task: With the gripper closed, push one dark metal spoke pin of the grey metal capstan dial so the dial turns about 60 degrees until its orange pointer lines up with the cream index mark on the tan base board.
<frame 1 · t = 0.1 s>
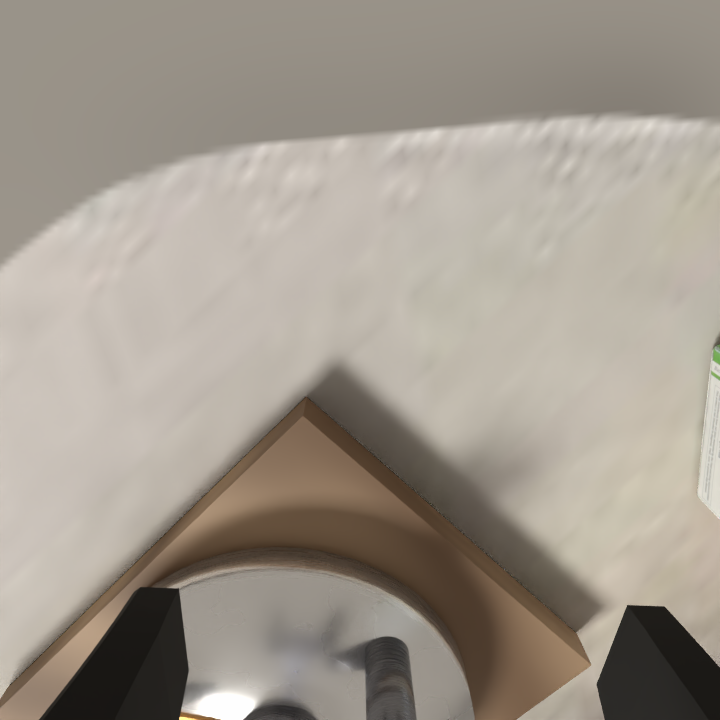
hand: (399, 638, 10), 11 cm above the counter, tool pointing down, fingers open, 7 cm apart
tan base board: (289, 661, 24), on the counter
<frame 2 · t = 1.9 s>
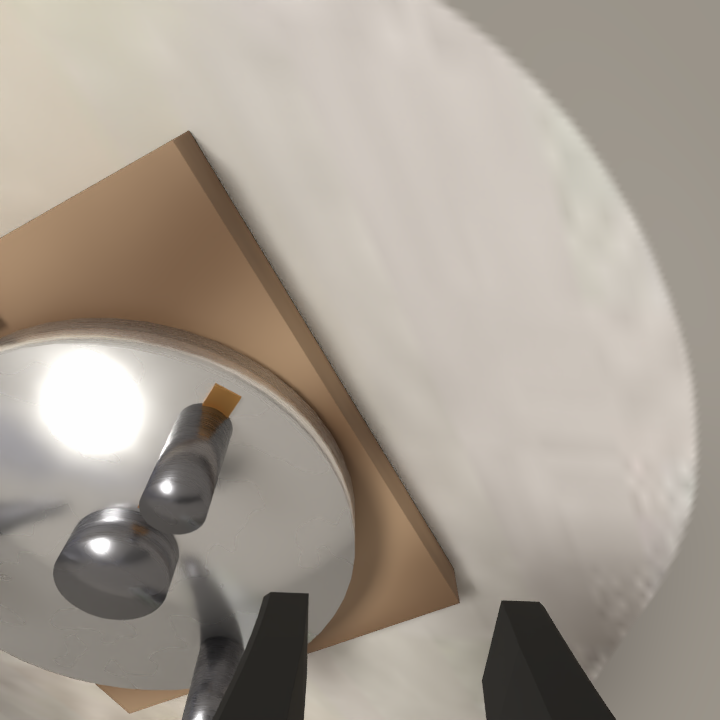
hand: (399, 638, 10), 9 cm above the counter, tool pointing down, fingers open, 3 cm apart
capstan dial: (116, 569, 17), point 4 cm above the counter, hinge at -60.0°
tan base board: (158, 473, 20), on the counter
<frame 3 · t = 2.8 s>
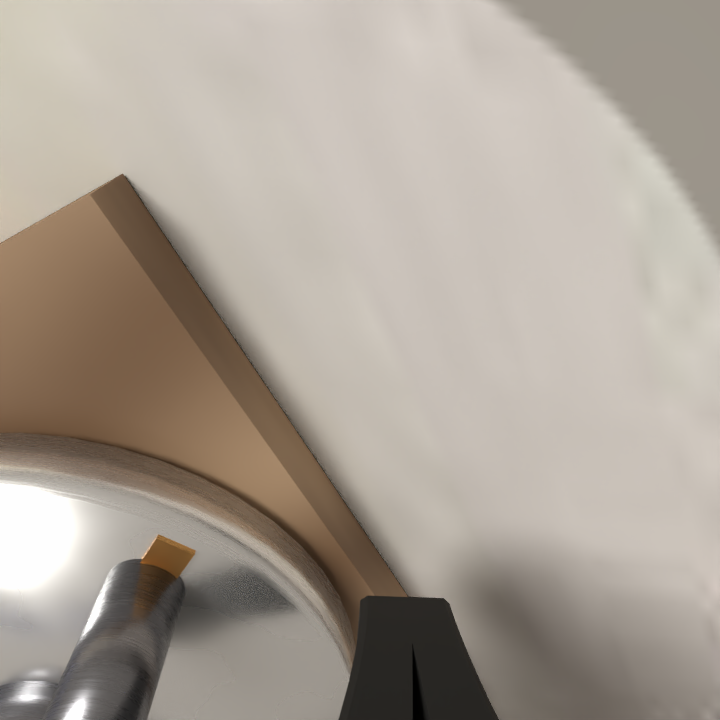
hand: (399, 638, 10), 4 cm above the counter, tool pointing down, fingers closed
tan base board: (105, 597, 16), on the counter
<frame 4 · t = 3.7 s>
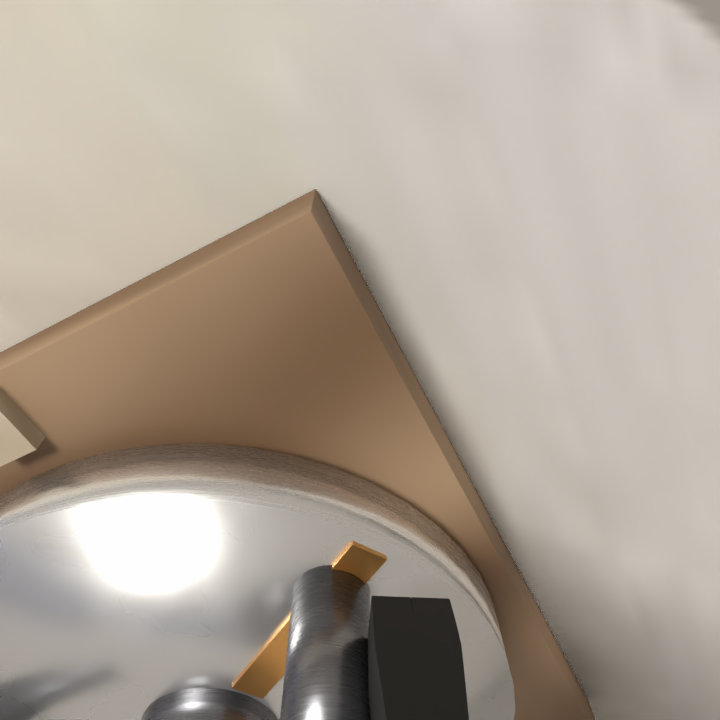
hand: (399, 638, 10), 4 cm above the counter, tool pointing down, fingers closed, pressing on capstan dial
tan base board: (236, 603, 16), on the counter
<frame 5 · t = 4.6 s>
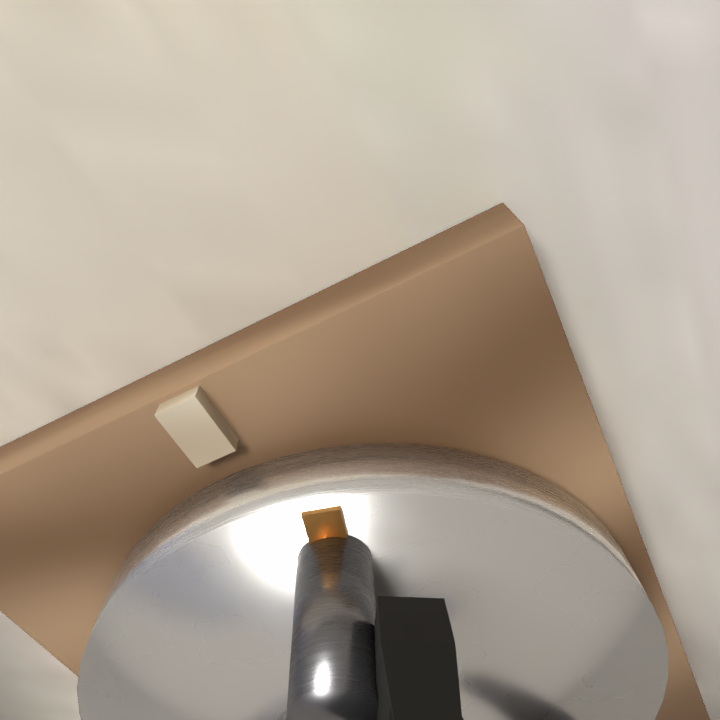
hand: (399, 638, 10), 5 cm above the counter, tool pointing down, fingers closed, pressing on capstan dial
tan base board: (369, 597, 17), on the counter
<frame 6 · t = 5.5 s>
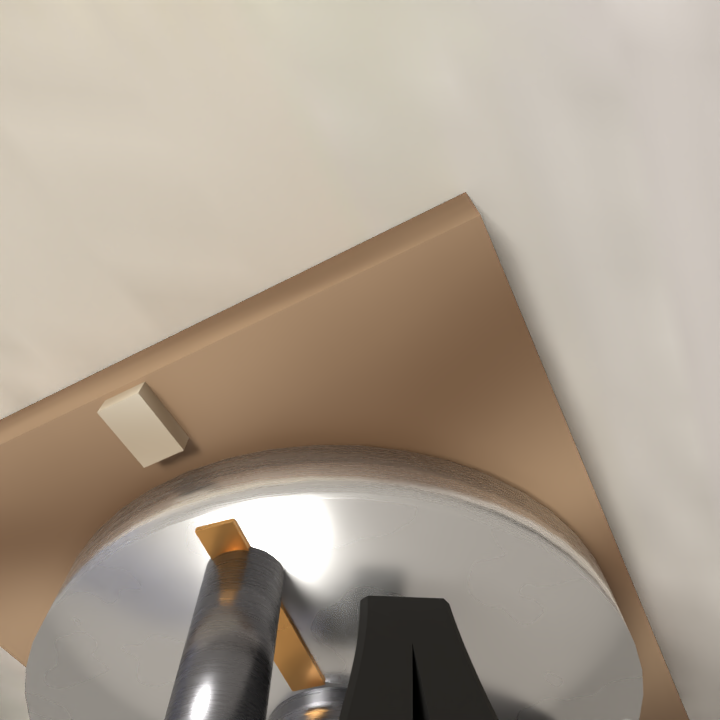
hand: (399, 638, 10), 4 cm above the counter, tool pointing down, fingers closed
tan base board: (339, 603, 16), on the counter
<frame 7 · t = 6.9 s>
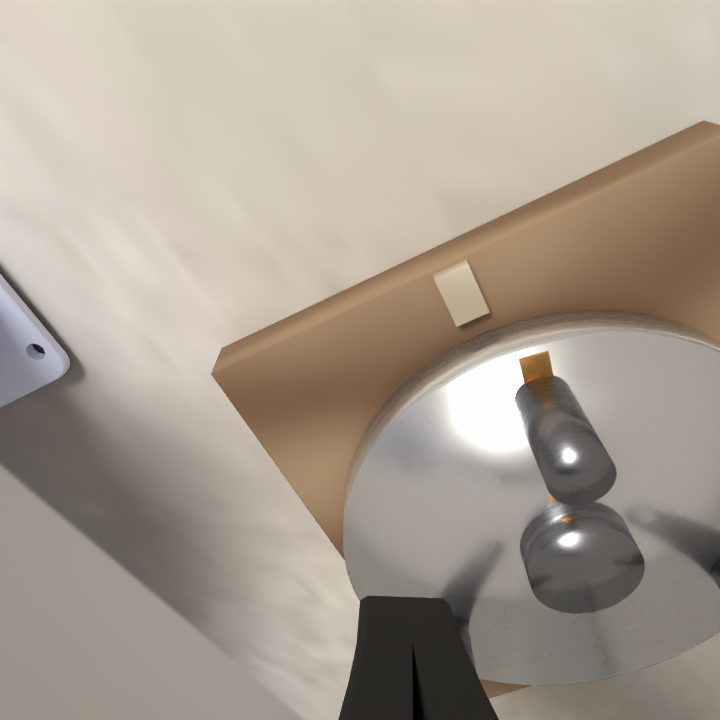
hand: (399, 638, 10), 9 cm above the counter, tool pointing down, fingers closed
capstan dial: (581, 562, 17), point 4 cm above the counter, hinge at -8.7°
tan base board: (542, 467, 20), on the counter
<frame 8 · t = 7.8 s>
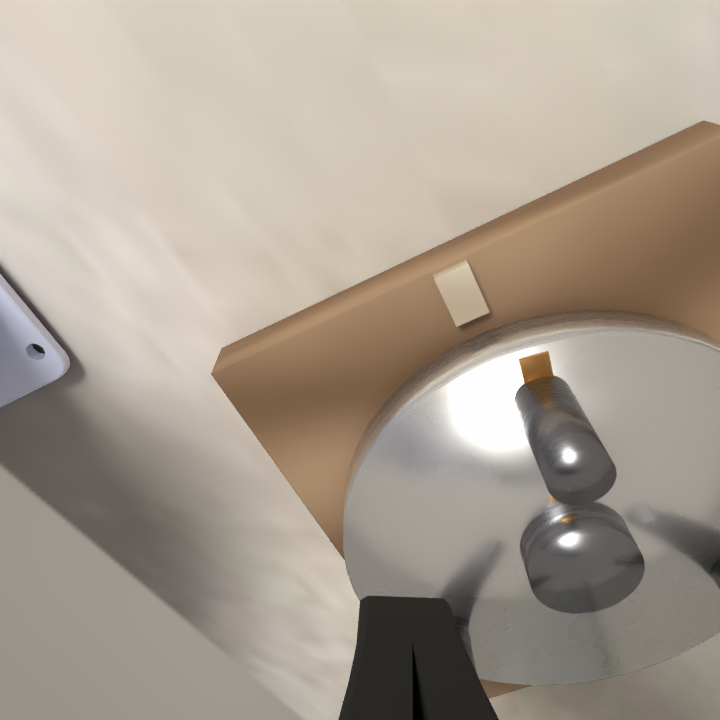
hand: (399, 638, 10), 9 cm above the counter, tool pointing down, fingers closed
capstan dial: (581, 562, 17), point 4 cm above the counter, hinge at -8.7°
tan base board: (542, 467, 20), on the counter
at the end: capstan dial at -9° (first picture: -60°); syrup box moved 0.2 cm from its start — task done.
